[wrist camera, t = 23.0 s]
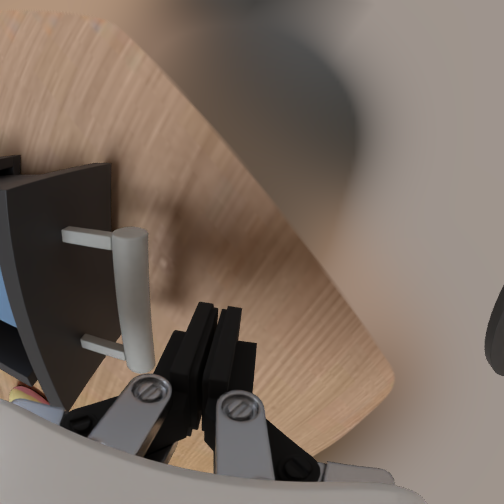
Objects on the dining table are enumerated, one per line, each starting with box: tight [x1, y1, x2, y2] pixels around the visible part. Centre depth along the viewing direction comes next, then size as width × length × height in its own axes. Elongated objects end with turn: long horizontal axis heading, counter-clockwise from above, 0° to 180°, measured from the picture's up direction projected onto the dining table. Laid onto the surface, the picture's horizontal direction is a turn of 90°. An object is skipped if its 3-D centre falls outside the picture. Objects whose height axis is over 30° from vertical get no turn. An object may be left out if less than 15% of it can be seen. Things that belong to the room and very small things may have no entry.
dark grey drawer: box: [0, 163, 155, 412], centre depth 13 cm, size 18×11×8 cm, turn 83°
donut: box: [9, 386, 50, 405], centre depth 25 cm, size 10×5×9 cm
